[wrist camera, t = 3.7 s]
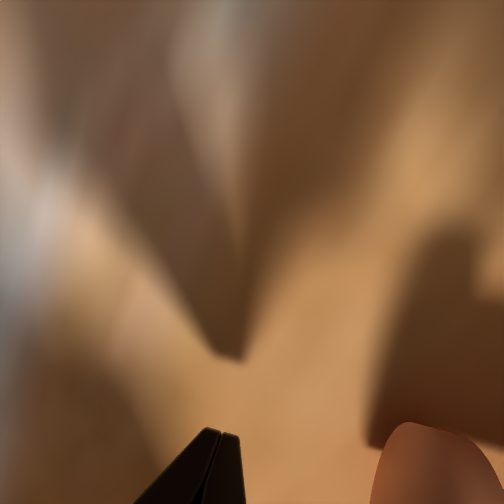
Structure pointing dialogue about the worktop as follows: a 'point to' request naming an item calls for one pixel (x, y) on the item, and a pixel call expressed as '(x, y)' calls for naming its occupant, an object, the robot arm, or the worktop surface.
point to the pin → (433, 470)
